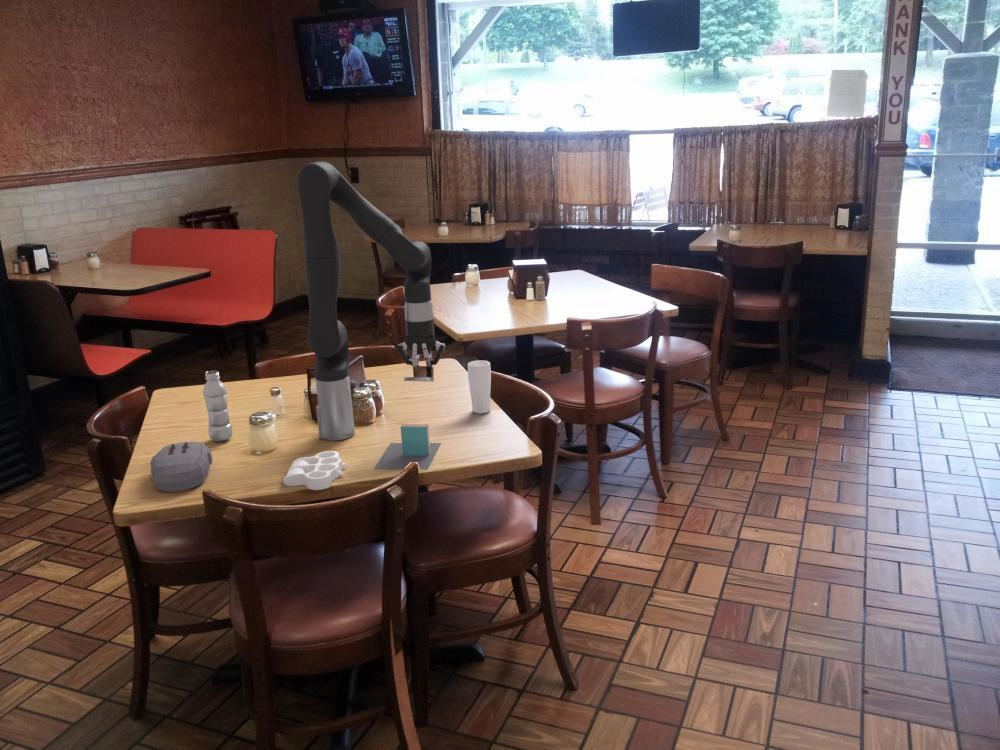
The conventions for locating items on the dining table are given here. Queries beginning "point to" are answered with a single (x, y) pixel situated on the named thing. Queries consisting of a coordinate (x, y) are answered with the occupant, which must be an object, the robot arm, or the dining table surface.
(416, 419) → the dining table surface
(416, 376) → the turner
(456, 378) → the dining table surface
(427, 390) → the dining table surface
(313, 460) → the white compartment holder
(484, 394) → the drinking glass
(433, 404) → the dining table surface
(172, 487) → the grey rounded bag
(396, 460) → the mat
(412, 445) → the tile
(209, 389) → the plastic bottle
